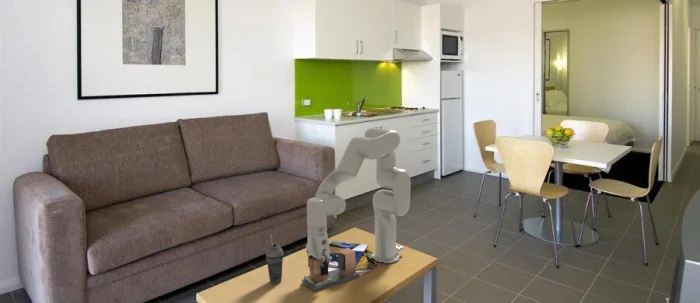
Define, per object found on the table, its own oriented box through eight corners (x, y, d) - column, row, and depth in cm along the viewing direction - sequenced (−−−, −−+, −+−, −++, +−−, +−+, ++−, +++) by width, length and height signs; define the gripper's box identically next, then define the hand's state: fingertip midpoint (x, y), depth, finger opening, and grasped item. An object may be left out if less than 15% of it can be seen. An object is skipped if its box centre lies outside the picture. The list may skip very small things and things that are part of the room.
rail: (346, 269, 197) (346, 246, 195) (359, 276, 190) (359, 252, 188) (302, 283, 184) (301, 258, 183) (313, 291, 177) (312, 266, 175)
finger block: (328, 280, 183) (328, 259, 182) (316, 284, 180) (315, 262, 178) (322, 276, 187) (321, 255, 186) (309, 279, 184) (309, 258, 183)
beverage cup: (281, 286, 182) (279, 238, 178) (263, 285, 183) (261, 237, 180) (287, 278, 189) (285, 232, 185) (270, 277, 190) (268, 231, 187)
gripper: (337, 233, 175) (338, 275, 178) (314, 221, 189) (315, 261, 192) (320, 237, 171) (321, 280, 174) (298, 225, 185) (299, 265, 188)
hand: (318, 270), depth 183 cm, fingers open, 9 cm apart
